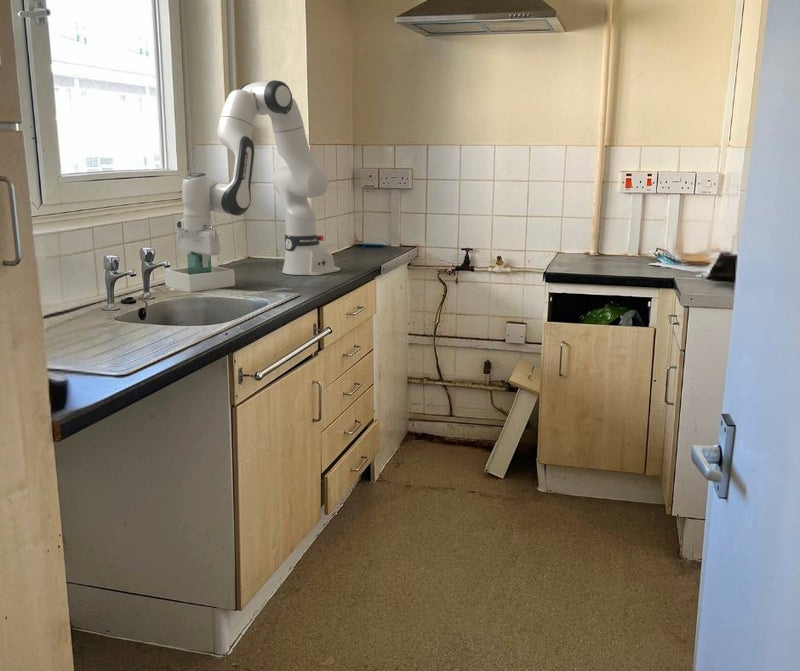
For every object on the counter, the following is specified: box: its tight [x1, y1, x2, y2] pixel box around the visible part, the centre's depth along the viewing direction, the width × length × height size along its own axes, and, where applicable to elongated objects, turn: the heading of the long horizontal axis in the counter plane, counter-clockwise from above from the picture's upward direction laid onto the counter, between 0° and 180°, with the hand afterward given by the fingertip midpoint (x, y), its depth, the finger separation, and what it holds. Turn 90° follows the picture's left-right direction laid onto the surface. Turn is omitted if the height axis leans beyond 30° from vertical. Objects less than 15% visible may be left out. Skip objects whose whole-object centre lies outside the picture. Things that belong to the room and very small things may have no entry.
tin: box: [186, 253, 212, 275], centre depth 261 cm, size 6×4×7 cm
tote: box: [164, 264, 236, 293], centre depth 263 cm, size 17×15×6 cm
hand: (199, 266), depth 262 cm, fingers closed on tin, 4 cm apart
